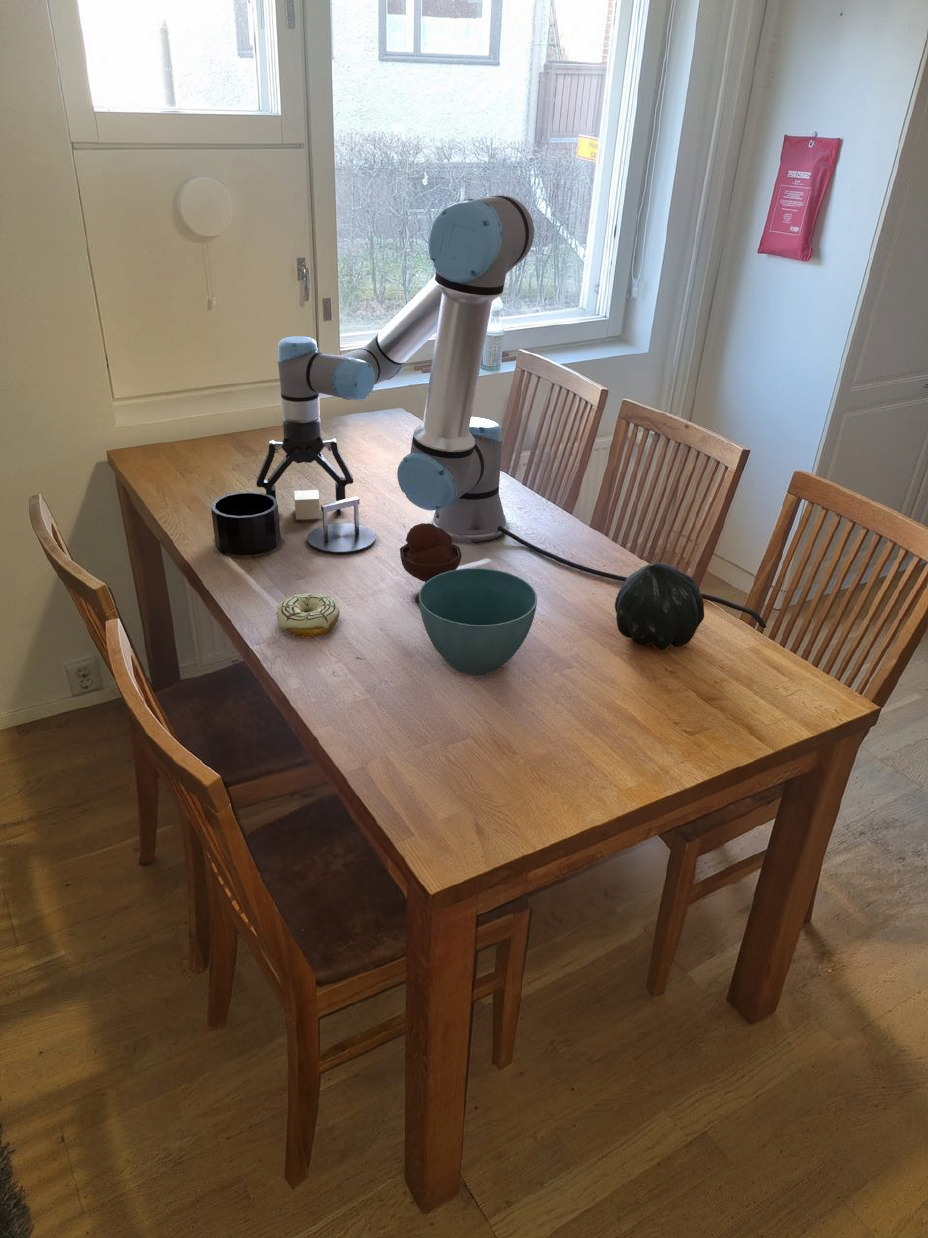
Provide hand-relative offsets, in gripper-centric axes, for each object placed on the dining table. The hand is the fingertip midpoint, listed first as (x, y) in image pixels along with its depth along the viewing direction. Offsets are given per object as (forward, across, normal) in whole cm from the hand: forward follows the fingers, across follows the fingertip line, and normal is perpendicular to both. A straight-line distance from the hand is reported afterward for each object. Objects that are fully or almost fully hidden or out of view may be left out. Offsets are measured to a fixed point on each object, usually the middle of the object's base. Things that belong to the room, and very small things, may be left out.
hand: (307, 515), depth 192 cm
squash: (0, -57, +57) cm, 80 cm away
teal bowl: (0, -25, +60) cm, 65 cm away
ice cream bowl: (0, -21, +39) cm, 44 cm away
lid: (0, -6, +14) cm, 15 cm away
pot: (0, +12, +12) cm, 17 cm away
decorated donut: (0, +1, +45) cm, 45 cm away
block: (0, 0, 0) cm, 0 cm away
